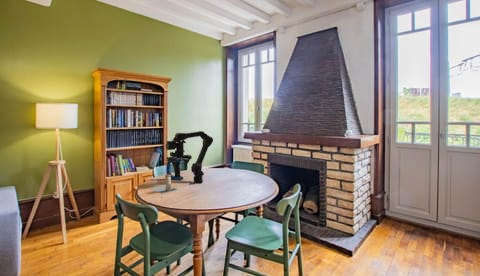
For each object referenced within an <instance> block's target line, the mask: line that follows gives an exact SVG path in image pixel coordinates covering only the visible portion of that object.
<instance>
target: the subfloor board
mask: <svg viewBox="0 0 480 276" xmlns="http://www.w3.org/2000/svg"><path fill="white" fill-rule="evenodd" d="M173 188H175V189H177V190H173V191H170V192H166V193H161V194H162V195H165V194H168V193H169V194H170V193H173V192H177V191H180V190H181V188H180V189H179V188H176V187H173V186H171V189H173ZM147 189H148V190H151V191H154V192H157V193H159V192H161V191H165V190H166V189H165V184H162V185H161V184H160V185H158V186H152V187H149V188H147Z"/></svg>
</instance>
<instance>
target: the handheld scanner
mask: <svg viewBox="0 0 480 276" xmlns="http://www.w3.org/2000/svg"><path fill="white" fill-rule="evenodd" d="M168 157H169V156H166V169H165V171H166V175H171V181H182V180H183V179H184V176H181V167H180V165H181V163H182V164H184V160H183V159H178V160H176V162H177V164H176V170H174V169H173V170H174V171H173V172H174V175H173V174H172V172H171V168H172V166H171V165H172V163H171V162H169V161H168Z"/></svg>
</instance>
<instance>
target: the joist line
mask: <svg viewBox="0 0 480 276" xmlns="http://www.w3.org/2000/svg"><path fill="white" fill-rule="evenodd" d="M175 188H176V187H174V188H173V189H171V191H173V190H177V189H178V188H177V189H175ZM177 191H178V190H177ZM166 192H169V193H171V192H170V191H166V190H165V191H161V192H158V193H160V194H162V193H165V194H167V193H166ZM173 192H174V191H173Z"/></svg>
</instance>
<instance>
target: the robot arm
mask: <svg viewBox="0 0 480 276" xmlns="http://www.w3.org/2000/svg"><path fill="white" fill-rule="evenodd" d="M198 137H200V138H201V139H202V147H201V150H200V151H199V154H198V156H197V160H196V162H193V163H192V165H191V168H190V169H191V170H190V171H191V173H193V184H202V183H203V182H204V180H203V179H204V177H203V176H204V175H205V172H204V171H202V169H203V162H204V159H205V156H206V154H207V151H208V149H209V148H210V147H211V146H212V145H213V142H214V138H213V137H212V136H209V135H208V134H207V133H205V131H202V130H199V131H191V132H176V133H175V134H174V137H173V139H172V140H166V143H165V149H166V150H167V151H170V152H169V156H167V157H168V161H169V162H171V165H172V166H173V170H176V164H177V162H176V160H178V159H183V160H184V163H183V165H184V166H183V167H184V169H186V168H187V166H188V164H189V162H190V161H191V159H193V156H192V155H191V154H185V150H184V149H185V148H184V144H186V143H187V141H186V140H187V139H189V138H190V139H192V138H198ZM172 150H173V151H174V150H175V151H174V152H173V151H172ZM168 161H167V162H168Z"/></svg>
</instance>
